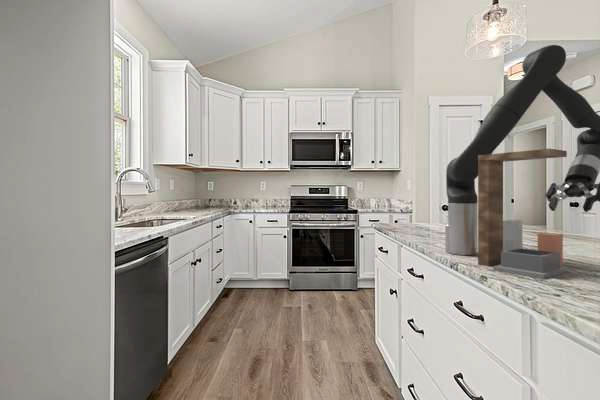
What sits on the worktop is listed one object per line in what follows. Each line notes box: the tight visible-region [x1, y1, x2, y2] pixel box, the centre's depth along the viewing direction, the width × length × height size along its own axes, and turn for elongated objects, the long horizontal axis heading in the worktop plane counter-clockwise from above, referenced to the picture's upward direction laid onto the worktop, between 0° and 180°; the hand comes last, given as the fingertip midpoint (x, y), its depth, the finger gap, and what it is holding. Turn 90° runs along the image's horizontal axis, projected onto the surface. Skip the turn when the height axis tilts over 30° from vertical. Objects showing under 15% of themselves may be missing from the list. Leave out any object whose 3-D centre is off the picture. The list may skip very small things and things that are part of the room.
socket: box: [492, 248, 568, 280], centre depth 94 cm, size 12×14×5 cm
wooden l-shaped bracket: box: [477, 148, 568, 267], centre depth 97 cm, size 18×10×32 cm, turn 34°
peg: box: [537, 232, 564, 267], centre depth 101 cm, size 4×4×9 cm
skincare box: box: [503, 219, 524, 251], centre depth 113 cm, size 6×4×12 cm
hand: (568, 209), depth 107 cm, fingers open, 8 cm apart
